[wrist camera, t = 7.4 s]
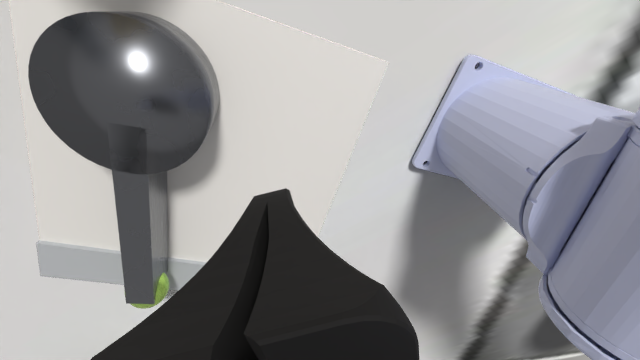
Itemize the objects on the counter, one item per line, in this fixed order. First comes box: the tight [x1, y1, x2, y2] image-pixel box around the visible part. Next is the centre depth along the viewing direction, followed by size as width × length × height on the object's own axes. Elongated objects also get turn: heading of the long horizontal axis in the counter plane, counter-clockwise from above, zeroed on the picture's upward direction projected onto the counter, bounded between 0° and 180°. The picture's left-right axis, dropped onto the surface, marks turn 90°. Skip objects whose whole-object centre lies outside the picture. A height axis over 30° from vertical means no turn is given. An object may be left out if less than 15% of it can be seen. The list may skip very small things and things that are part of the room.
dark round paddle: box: [28, 11, 220, 308], centre depth 17 cm, size 18×7×3 cm, turn 167°
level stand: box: [8, 0, 389, 291], centre depth 19 cm, size 18×20×2 cm
